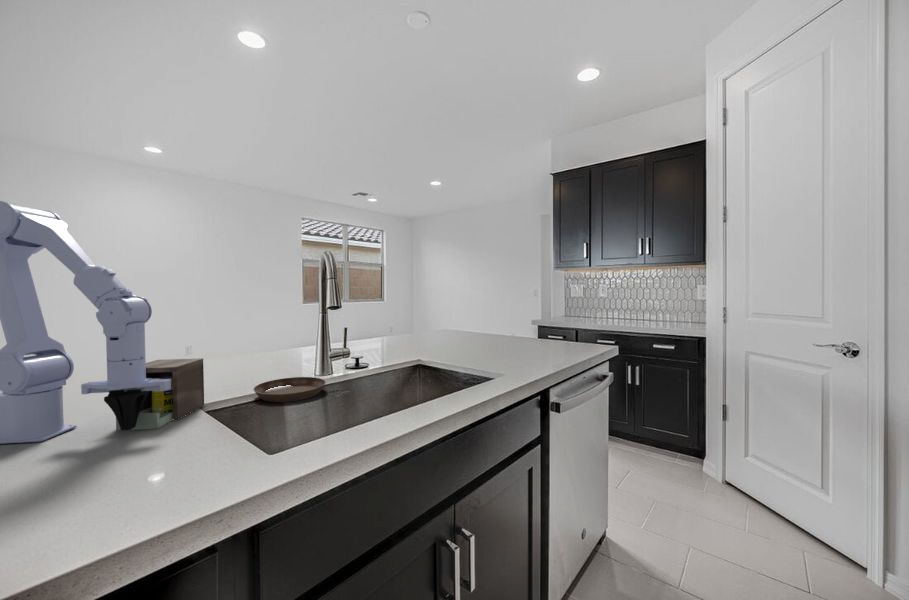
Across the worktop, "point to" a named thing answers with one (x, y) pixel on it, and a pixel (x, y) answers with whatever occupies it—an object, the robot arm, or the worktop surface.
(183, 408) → the wooden open box
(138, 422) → the tray
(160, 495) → the worktop surface
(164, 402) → the supplement bottle
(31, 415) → the robot arm
